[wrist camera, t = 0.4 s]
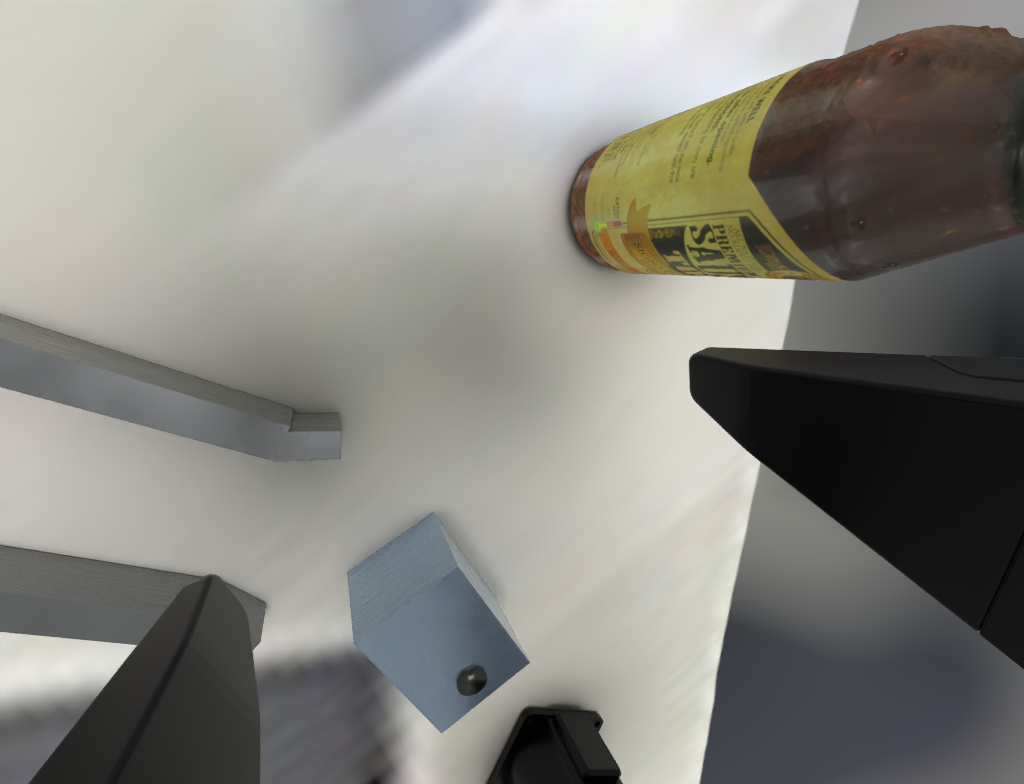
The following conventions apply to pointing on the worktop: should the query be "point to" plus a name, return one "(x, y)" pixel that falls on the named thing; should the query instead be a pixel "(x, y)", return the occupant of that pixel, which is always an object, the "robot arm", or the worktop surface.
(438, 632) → the block
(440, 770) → the worktop surface
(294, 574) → the worktop surface
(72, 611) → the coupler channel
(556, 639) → the worktop surface
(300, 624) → the worktop surface
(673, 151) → the sauce bottle
